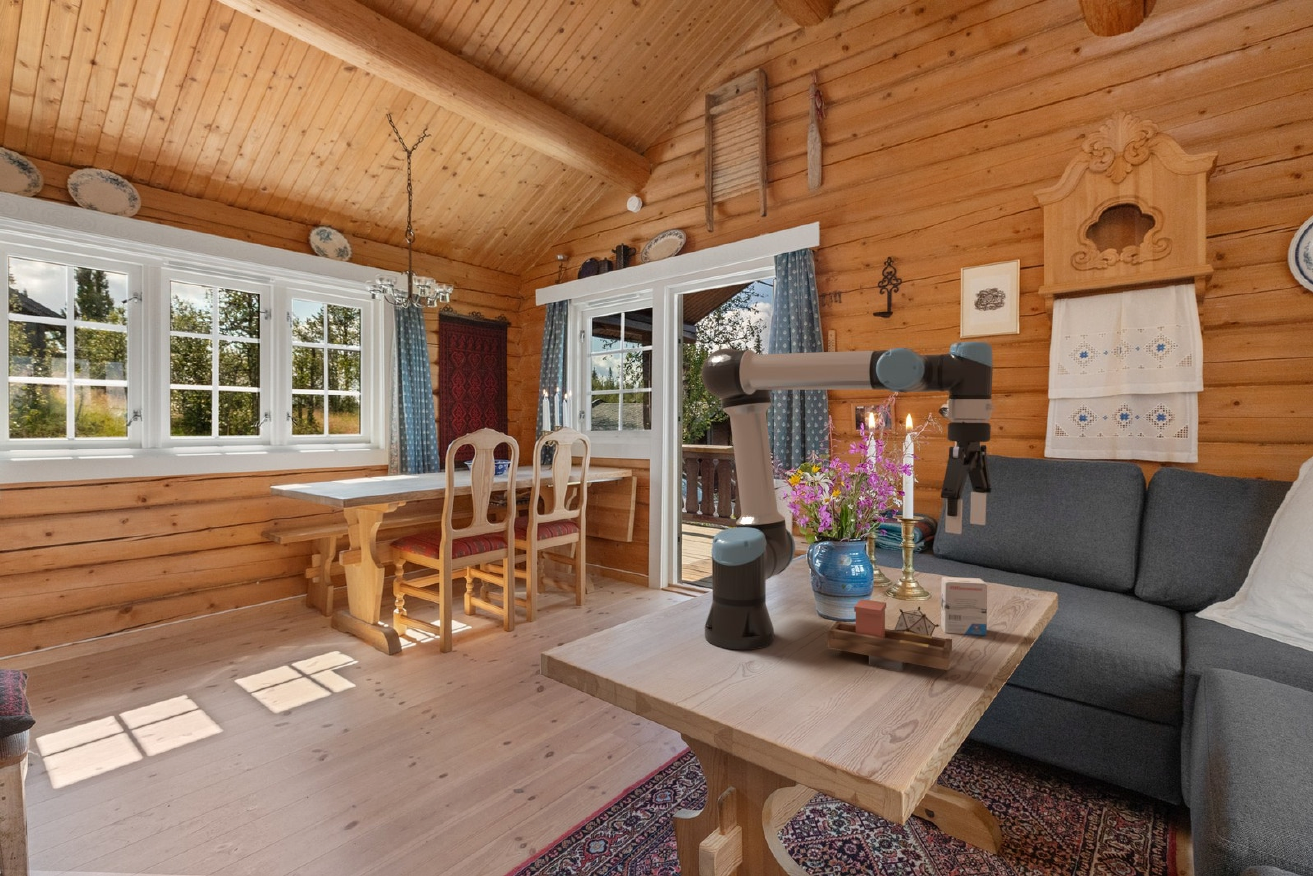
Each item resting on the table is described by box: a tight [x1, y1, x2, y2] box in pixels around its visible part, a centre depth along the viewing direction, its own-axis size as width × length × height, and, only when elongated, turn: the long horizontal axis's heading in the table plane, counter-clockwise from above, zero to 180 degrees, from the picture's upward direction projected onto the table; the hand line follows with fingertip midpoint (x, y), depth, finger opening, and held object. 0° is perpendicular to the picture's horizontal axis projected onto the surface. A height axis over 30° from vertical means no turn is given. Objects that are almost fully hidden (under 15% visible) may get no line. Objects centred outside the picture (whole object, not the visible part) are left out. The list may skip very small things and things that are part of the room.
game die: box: [893, 606, 941, 637], centre depth 128 cm, size 9×8×10 cm
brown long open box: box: [827, 620, 953, 673], centre depth 120 cm, size 22×7×6 cm, turn 59°
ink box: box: [940, 576, 988, 636], centre depth 137 cm, size 9×5×12 cm, turn 76°
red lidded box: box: [853, 598, 887, 638], centre depth 122 cm, size 5×6×7 cm
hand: (965, 528), depth 121 cm, fingers open, 13 cm apart
